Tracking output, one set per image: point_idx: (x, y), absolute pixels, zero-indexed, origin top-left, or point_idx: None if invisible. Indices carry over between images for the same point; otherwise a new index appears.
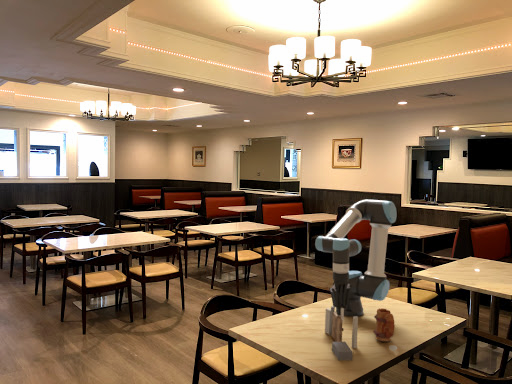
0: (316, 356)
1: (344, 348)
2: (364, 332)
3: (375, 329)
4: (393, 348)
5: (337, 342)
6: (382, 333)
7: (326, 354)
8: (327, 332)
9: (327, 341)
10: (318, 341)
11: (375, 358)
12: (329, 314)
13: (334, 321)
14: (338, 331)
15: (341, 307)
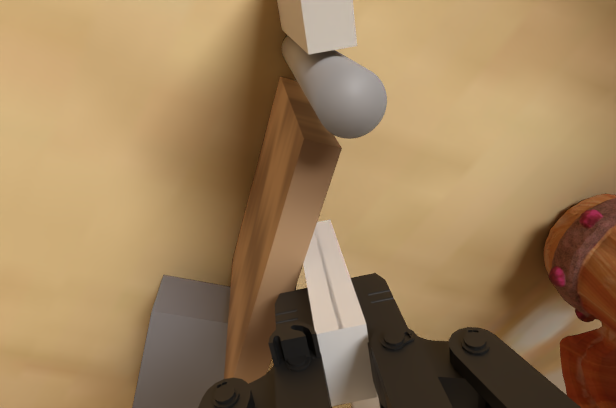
0: (17, 326)
1: (190, 403)
2: (583, 89)
3: (612, 223)
4: (531, 337)
5: (188, 327)
6: (581, 307)
7: (97, 318)
8: (278, 3)
9: (196, 150)
10: (120, 129)
11: None
12: (299, 36)
13: (268, 202)
14: (235, 298)
15: (367, 361)
